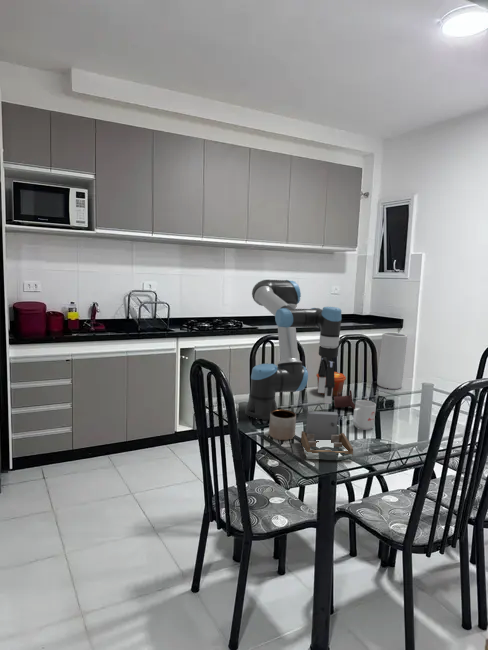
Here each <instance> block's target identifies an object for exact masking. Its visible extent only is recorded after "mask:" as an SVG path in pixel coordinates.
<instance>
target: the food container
mask: <svg viewBox="0 0 488 650" xmlns="http://www.w3.org/2000/svg"><path fill="white" fill-rule="evenodd" d="M316 378H317V384H318V383H319V374H318V373H316ZM325 378H326V377H325ZM346 379H347V377H346V376H345V374H344V373H341V372H337V371H334V381H335V387H334V388H333V392H332V398H334V397H337V396H338V394H337V392H340V396H342V394H343V389H344V386H345V382H346ZM325 385H326V382H325ZM318 394H320V395H322V396H325V393H318Z"/></svg>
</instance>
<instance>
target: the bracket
mask: <svg viewBox="0 0 488 650" xmlns="http://www.w3.org/2000/svg"><path fill="white" fill-rule="evenodd" d="M348 392H349V395H340V392H337V394H338V396H336V397H333V403H334V409H340V408H350V407H351V408H352V409H353V410H354V409H355V403H354V402H353V393H352V390H349V391H348ZM364 400H367V401H369V400H368V399H367V398H365V399H364Z"/></svg>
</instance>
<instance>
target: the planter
mask: <svg viewBox="0 0 488 650" xmlns="http://www.w3.org/2000/svg"><path fill="white" fill-rule="evenodd" d="M277 409H278V408H277ZM296 421H297V414H296V413H295V412H294V411H292V410H288V409H281V408H279V409H278V410H273V411H271V413H270V419H269V426H268V435H269V437H271V438H272V439H275V440H278V441H289V440H288V439H290V440H292V439H294V438H295V437H294V436H296V425H297V424H296V423H297V422H296ZM293 437H294V438H293Z"/></svg>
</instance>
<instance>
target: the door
mask: <svg viewBox="0 0 488 650" xmlns="http://www.w3.org/2000/svg"><path fill="white" fill-rule="evenodd" d="M306 411H307V414H306V425H305V433H308V434H314V441H316V440H331V435H338V434H337V433H338V432H337V431H338V421H339V414H338V412H337V411H319V410H318V411H316V410H315V411H313V410H306Z"/></svg>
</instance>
